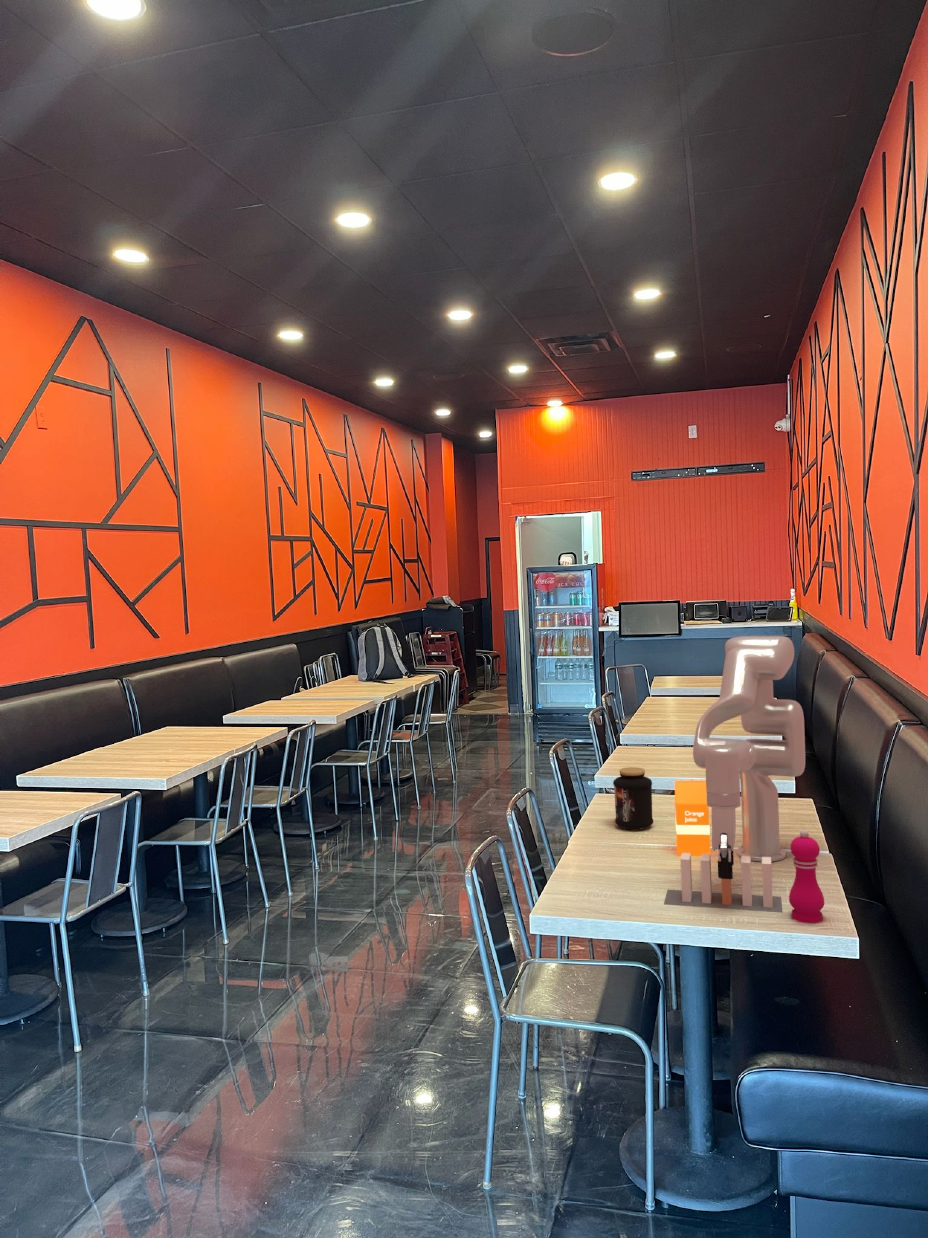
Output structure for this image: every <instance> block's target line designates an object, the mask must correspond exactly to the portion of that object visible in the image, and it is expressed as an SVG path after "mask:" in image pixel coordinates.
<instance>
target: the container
mask: <svg viewBox="0 0 928 1238" xmlns="http://www.w3.org/2000/svg"><path fill="white" fill-rule="evenodd" d="M645 773H646V771H645V769H644V768H642V767H635V766H634V767H623V768H620V769H619V777H616V778H615V779H614V780H613V781H612V783H613V791H614V807H615V820H614V822H615V824H616V825H617V826H618V827H620V828H621V829H626V830H633V831H635V830H644V829H648V828H649V827H651V826H652V825H653V823H654V819H653V789H652V788H653V787H652V785H653V781H652V779H651V778H649V777H648V776H645Z"/></svg>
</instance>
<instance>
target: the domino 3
mask: <svg viewBox="0 0 928 1238" xmlns="http://www.w3.org/2000/svg"><path fill="white" fill-rule="evenodd" d="M728 859H729V858H728ZM720 880H721V893H722V904H727V905H731V903H732V894H733V891H732V889H733V888H732V879H720Z"/></svg>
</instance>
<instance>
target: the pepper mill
mask: <svg viewBox="0 0 928 1238" xmlns="http://www.w3.org/2000/svg"><path fill="white" fill-rule="evenodd" d="M809 834H810V833H809V831H808V830H807V829H802V830H800V832H799V835H800V836H797V837H795V838H793V839H792V840H791V843H790V849H789V850H790V852H791V854H792V856H793V859H792V860H793V862H792V864H793V866H794V867H795V878H794V880H793V881H794V882H793V884H792V887H791V888H790V891H789V894H788V895H789V896H788V900H789V901H788V903H789V904H790V906H791V907H792V910H791V919H793V920H795V921H797V922H799V923H804V924H816V923H821V922H822V921H823V912H822V911H821V910H822V909H823V908H824V906H825V898H824V897H825V896H824V894H823V892H822V890H821V887H820V886H819V884H818V881H817V875H816V873H817V872H816V871H817V869H816V868H818V866H819V865H818V859H817V858H818V856H819V855H820V852H821V851H820V845H819V843H818V842H817V841H816V839H814V838H813V837H811V836H810V835H809Z"/></svg>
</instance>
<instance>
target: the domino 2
mask: <svg viewBox="0 0 928 1238" xmlns="http://www.w3.org/2000/svg"><path fill="white" fill-rule="evenodd" d="M711 867H712V863H711V853H710V854H702V855H701V856H700V881H701V882H700V883H701V892H702V903H711V900H712V892H713V889H712V883H713V882H712V868H711Z"/></svg>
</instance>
